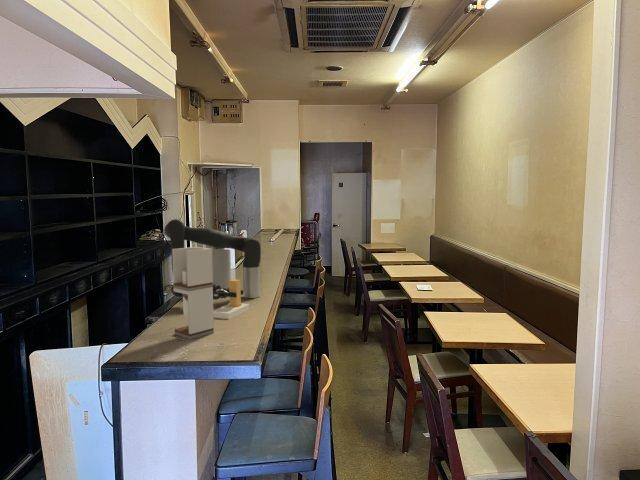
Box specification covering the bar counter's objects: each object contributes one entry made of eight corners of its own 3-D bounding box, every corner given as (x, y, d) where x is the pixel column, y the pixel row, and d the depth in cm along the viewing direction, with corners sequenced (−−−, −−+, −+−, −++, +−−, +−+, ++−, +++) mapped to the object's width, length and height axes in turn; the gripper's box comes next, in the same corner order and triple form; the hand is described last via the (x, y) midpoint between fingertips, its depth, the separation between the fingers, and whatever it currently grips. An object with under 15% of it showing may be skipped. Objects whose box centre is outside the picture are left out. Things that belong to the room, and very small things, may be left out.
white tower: (198, 328, 195) (196, 246, 191) (213, 332, 188) (212, 248, 185) (174, 334, 186) (172, 249, 183) (190, 339, 179) (187, 251, 176)
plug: (233, 309, 226) (233, 279, 224) (241, 309, 225) (240, 279, 223) (229, 311, 222) (229, 280, 221) (237, 311, 221) (236, 281, 219)
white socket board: (231, 308, 230) (231, 302, 229) (249, 309, 227) (249, 304, 226) (209, 318, 211) (209, 311, 210) (229, 320, 208) (228, 313, 207)
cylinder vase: (215, 295, 260) (215, 252, 258) (205, 292, 270) (204, 250, 267) (235, 292, 268) (234, 250, 266) (224, 289, 278) (223, 248, 276)
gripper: (201, 286, 220) (232, 288, 215) (217, 281, 234) (246, 283, 228) (201, 302, 221) (232, 304, 215) (217, 296, 234) (246, 298, 229)
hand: (239, 293), depth 222 cm, fingers open, 6 cm apart
